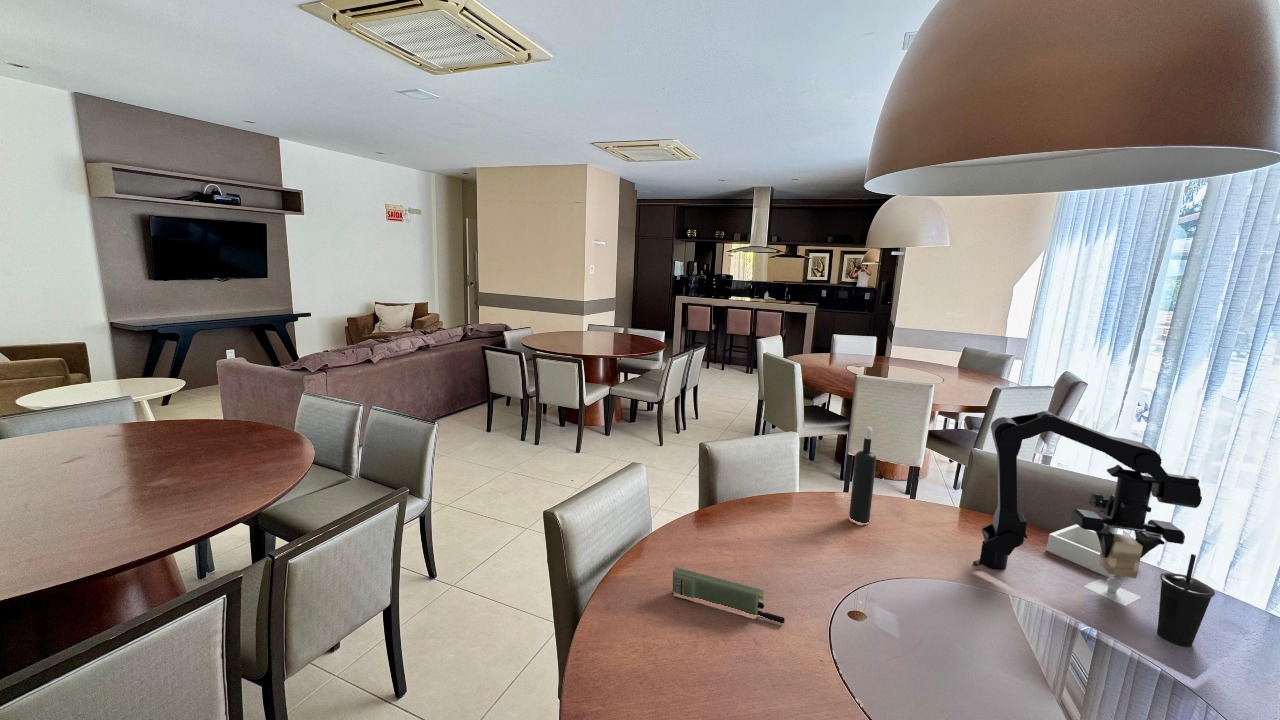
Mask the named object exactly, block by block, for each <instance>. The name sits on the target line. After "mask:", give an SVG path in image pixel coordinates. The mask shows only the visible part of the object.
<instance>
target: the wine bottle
mask: <svg viewBox="0 0 1280 720" xmlns="http://www.w3.org/2000/svg"><path fill="white" fill-rule="evenodd" d="M873 430H874V427H872V426H865V427H864V433H863V434H864V435H863V446H862V450H859V451H858V452H857V453H856V454H855V455H854V457H855V458H854V466H853V474H852V486H851V494H850V506H849V511H848V513H849V514H848V517H849V516H850V518H851V519H853V520H855V521H857V522H861V523H867V522H869V523H870V521H869V520H870V519H871V511H872V510H871V509H872V501H873V492H874V483H875V476H876V468H877V467H876V465H877V456H876V455H875V454H874V453H873V452H871V446H872V439H873V432H874V431H873Z"/></svg>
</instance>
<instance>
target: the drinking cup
mask: <svg viewBox="0 0 1280 720" xmlns="http://www.w3.org/2000/svg"><path fill="white" fill-rule="evenodd" d="M1196 558H1197V555H1196V554H1193V553H1191V554H1190V558H1189V562H1188V566H1187V570H1186V571H1187V572H1186V574H1181V573H1173V572H1172V573H1171V572H1164V573H1161V574H1160V576H1159V578H1160V580H1161V585H1160V596H1159V605H1158V606H1159V608H1158V619H1157V620H1158V621H1157V633H1156V634H1158V636H1159V637H1160V638H1162V639H1163V640H1165V641H1167V642H1169V643H1171V644H1174V645H1176V646H1180V647H1184V648H1190V647H1192V646H1193V644H1194V642H1195V639H1196V636H1197V635H1198V631H1199V629H1200V627H1201V625H1202V622H1203V619H1204V617H1205V614H1206V611H1207V609H1208V607H1209V604H1210V602H1211V599H1212V598H1214V596H1216V592H1215V590H1214V589H1213V588H1212V587H1210V585H1208V584H1206V583H1204V582H1203V581H1200V580H1199V579H1197V578H1194V577H1192V575H1193V571H1194V566H1195V562H1196Z"/></svg>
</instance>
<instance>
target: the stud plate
mask: <svg viewBox="0 0 1280 720" xmlns="http://www.w3.org/2000/svg"><path fill="white" fill-rule="evenodd" d="M1082 587H1083V588H1085V589H1088V590H1089V591H1091V592H1094V593H1096V594H1098V595H1100V596H1103V597H1105V598H1107V599H1109V600H1111V601H1113V602H1115V603H1117V604H1120V605H1122V606H1124V607H1127V606H1128V605H1130V604H1132V603H1134V602H1135V601H1138V600H1140V599H1141V598H1142V596H1140V595H1138V594H1135V593H1133V592H1131V591H1129V590H1126V589H1124V588H1122V582H1121V581H1120V580H1119V579H1118V578H1116V577H1110V578H1109V577H1107V579H1106V580H1104V579H1101V578H1097V579H1096V580H1093V581H1092V582H1089V583H1087V584H1086V585H1085V584H1084V585H1083V586H1082Z"/></svg>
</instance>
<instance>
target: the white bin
mask: <svg viewBox="0 0 1280 720" xmlns="http://www.w3.org/2000/svg"><path fill="white" fill-rule="evenodd" d="M1046 551H1048V552H1049V553H1051V554H1054V555H1056V556H1058V557H1060V558H1063V559H1065V560H1068V561H1070V562H1073V563H1075V564H1077V565H1079V566H1081V567H1084V568H1086V569H1088V570H1091V571H1092V572H1096V573H1097V574H1100V575H1102V576H1104V577H1107V578H1110V577H1113V578H1115V577H1117V575H1113V574H1109V573H1108V572H1107V571H1106V570H1105V569H1104V568H1103V567H1102V566H1101V565H1100V564H1099V563H1098V562H1099V557H1100V551H1101V546H1100V543H1099V539H1098V536H1097V534H1096V532H1095V531H1093V530H1086V529H1083V528H1081V527H1080V526H1079V525H1078V524H1077V523H1075V524H1073V525H1071V526H1067V527H1065V528H1061V529H1060V530H1056V531H1053V532H1051V533H1048V539H1047V544H1046Z"/></svg>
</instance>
